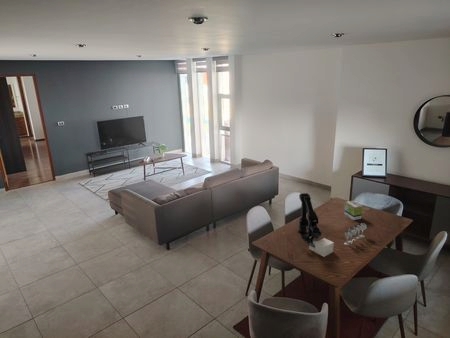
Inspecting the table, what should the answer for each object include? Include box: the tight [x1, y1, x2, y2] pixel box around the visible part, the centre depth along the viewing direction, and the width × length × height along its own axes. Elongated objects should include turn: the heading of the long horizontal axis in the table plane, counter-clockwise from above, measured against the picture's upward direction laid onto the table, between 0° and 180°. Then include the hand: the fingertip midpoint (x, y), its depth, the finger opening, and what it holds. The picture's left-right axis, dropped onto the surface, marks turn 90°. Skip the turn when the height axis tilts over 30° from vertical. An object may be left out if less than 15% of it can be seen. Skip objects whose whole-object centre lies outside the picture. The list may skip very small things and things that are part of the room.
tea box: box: [343, 200, 363, 221], centre depth 317 cm, size 15×10×15 cm, turn 17°
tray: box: [308, 239, 317, 248], centre depth 262 cm, size 14×6×6 cm, turn 35°
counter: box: [308, 237, 335, 258], centre depth 259 cm, size 15×12×9 cm
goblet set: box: [343, 222, 367, 246], centre depth 274 cm, size 28×6×13 cm, turn 124°
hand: (310, 243), depth 269 cm, fingers closed, pressing on tray
